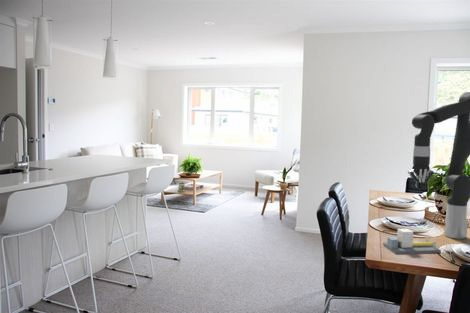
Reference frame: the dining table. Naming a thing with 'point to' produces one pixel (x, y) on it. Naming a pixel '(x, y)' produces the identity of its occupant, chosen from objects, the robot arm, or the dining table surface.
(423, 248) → the linear slide rail
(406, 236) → the sleeve
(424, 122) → the robot arm
